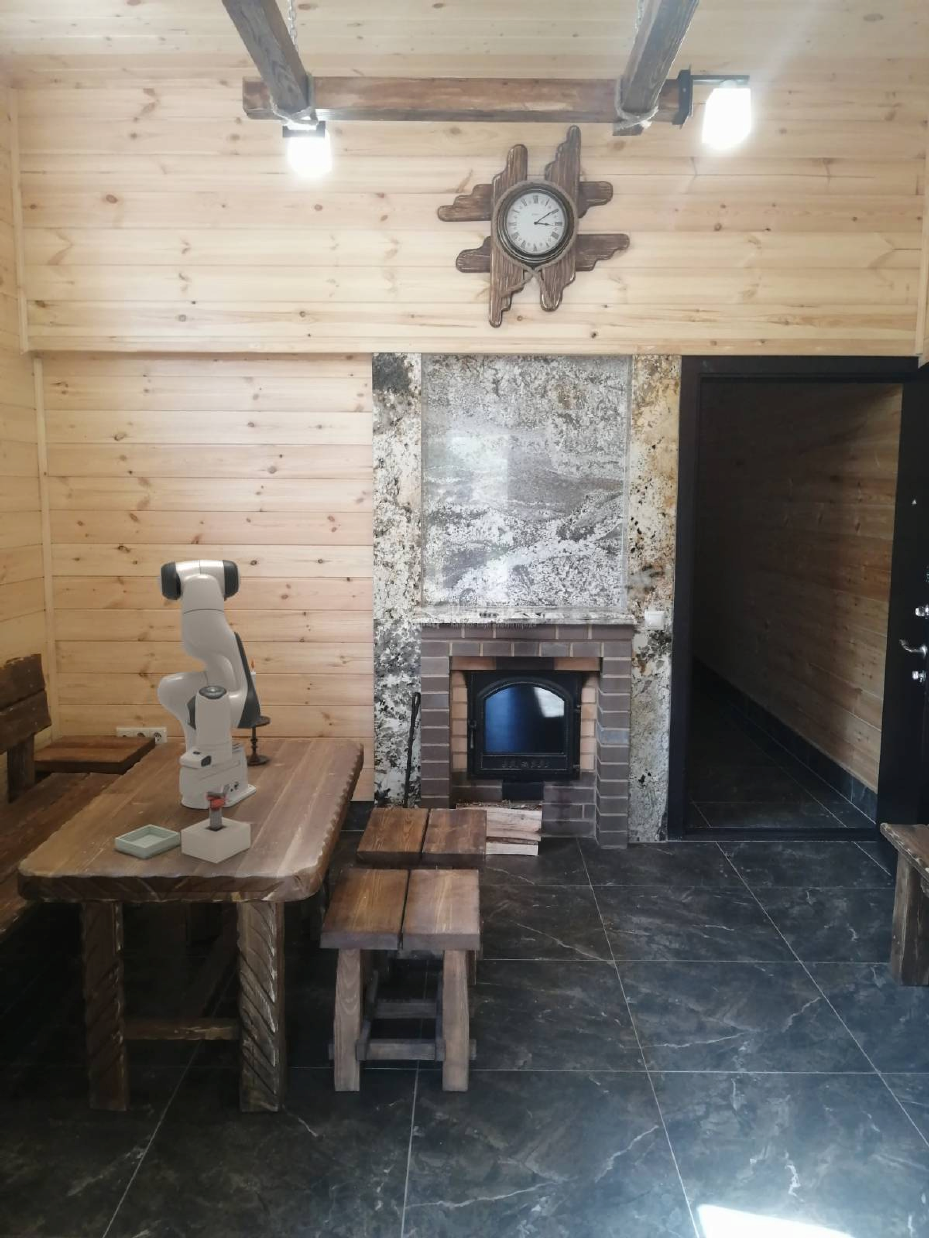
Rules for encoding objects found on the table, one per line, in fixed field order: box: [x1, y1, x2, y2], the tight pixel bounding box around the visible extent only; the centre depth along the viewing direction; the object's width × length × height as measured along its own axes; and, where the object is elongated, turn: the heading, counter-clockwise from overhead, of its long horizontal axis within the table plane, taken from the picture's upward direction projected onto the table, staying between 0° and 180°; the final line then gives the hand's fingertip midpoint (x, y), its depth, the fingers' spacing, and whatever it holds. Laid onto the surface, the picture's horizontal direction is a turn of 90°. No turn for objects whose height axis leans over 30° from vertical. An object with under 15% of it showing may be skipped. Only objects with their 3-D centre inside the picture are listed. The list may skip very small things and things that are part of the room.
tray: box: [114, 824, 181, 860], centre depth 228 cm, size 11×11×3 cm
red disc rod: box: [205, 792, 226, 832], centre depth 226 cm, size 5×5×14 cm
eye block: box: [180, 816, 252, 865], centre depth 227 cm, size 12×12×6 cm
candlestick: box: [245, 660, 271, 767], centre depth 296 cm, size 11×11×35 cm
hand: (215, 803), depth 225 cm, fingers closed on red disc rod, 5 cm apart
